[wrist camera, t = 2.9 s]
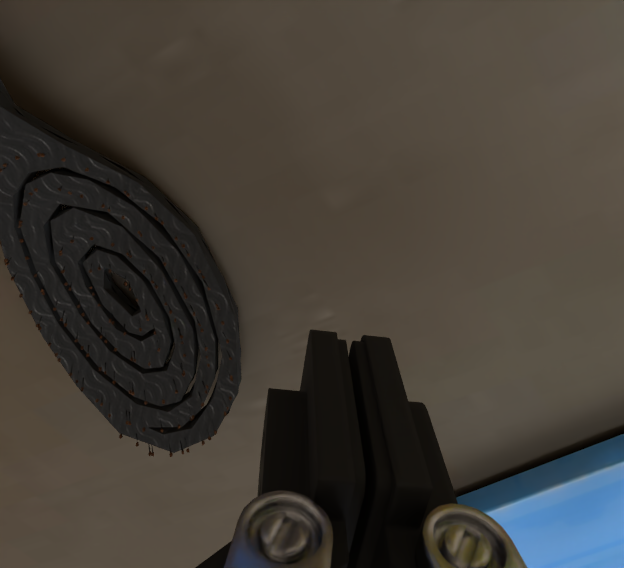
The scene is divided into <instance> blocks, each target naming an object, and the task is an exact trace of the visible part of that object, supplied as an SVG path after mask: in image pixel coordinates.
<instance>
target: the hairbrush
mask: <svg viewBox="0 0 624 568" xmlns="http://www.w3.org/2000/svg"><path fill="white" fill-rule="evenodd" d="M59 167H65V168H67V169H70V170H65V169H58V168H59ZM53 168H54V169H53ZM47 169H52V170H50V171H47V172H45V173H43V174H40V175H39V176H38V177H36V178H35V179H33V177H34V176H35V175H36V173H37V172H38V171H41V170H47ZM32 179H33V180H32ZM31 180H32V181H31ZM24 190H25V192H24ZM61 204H64V205H70V206H71V207H68V208H66V209H64V210H62V211H61V212H60V213H59V214H58V211H59V207H60V205H61ZM0 244H1V245H2V249H3V253H4V257H5V259H4V262H6V263H5V265H7V268H8V270H9V272H10V274H11V276H12V277H11V280H14V282H15V284H16V285H17V287H18V289H19V291H20V293H21V294H20V297H23V299H24V301H25V303H26V305H27V307H28V309H29V313H30V314H31V315H32V317H33V319H34V321H35V322H36V324H37V325H36V326H37V327H38V330H40V332H41V334H42V336H43V338H44V339H45V341H46V342H47V344H48V346H50V348H51V349H52V351H53V352H54V354H55V356H56V357H57V358H58V359H57V360H58V361H59V362H61V364H62V365H63V367H64V368H65V370H66V371H67V373H68V374H69V376H70V377H71V378H72V380H73V381H74V383H75V384H76V386H77V387H78V388H79V389H80V390H81V391H82V392H83V393H84V394H85V396H86V397H87V398H88V399H89V400H90V401H91V402H92V403H93V404H94V405H95V407H96V408H97V409H98V410H99V411H100V412H101V413H102V414H103V415H104V417H105V418H106V419H107V420H108V421H109V422H110V423H111V424H112V425H113V426H114V428H115V429H116V430H117V431H118V432H119V433H120V436H119V438H120V439H121V438H122V437H123V436H122V434H123V435H126V436H129V437H132V438H134V439H137V440H140V441H143V442H145V443H148V444H151V445H154V446H157V447H159V448H162V449H165V450H168V451H170V457H172V453H171V452H173V453H175V452H177V451H179V450H182V454H184V450H183V449H184V448H186V447H189V446H191V445H193V444H196V443H198V442H200V441H202V446H203V445H204V444H205V442H204V441H203V440H205V439H207V438H208V439H209V440H211V437H212V436H214V435H216V433H217V429H218V428H219V426H220V424H221V422H222V421H223V419H224V417H225V416H226V415H227V414H228V413H229V411H230V408H231V405H232V403H233V401H234V399H235V397H236V396H237V394H238V389H239V384H240V382H241V362H240V358H241V346H240V339H239V322H238V307H237V305H236V303H235V301H234V299H233V297H232V295H231V293H230V291H229V289H228V287H227V285H226V283H225V280H224V277H223V275H222V274H221V272H220V270H219V269H218V267H217V265H216V263H215V261H214V259H213V257H212V255H211V253H210V251H209V249H208V247H207V245H206V243H205V241H204V239H203V237H202V235H201V232H200V230H199V228H198V226H197V225H195V224H194V223H193V222H192V221H191V220H190V219H189V218H188V217H187V216H186V215H185V214H184V213H183V212H182V211H180V210H179V209H178V208H177V207H176V206H175V205H174V204H173V203H172V202H171V201H170V200H169V199H168V198H167V197H165V196H164V195H163V194H162V193H161V192H160V191H159V190H158V189H157V188H156V187H155V186H154V185H153V184H152V183H150V182H149V181H148V180H147V179H146V178H145V177H143V176H142V175H140V174H138V173H136V172H134V171H132V170H130V169H128V168H126V167H124V166H123V165H121V164H119V163H117V162H115V161H113V160H111V159H109V158H107V157H105V156H103V155H102V154H100V153H98V152H96V151H94V150H92V149H90V148H88V147H86V146H84V145H82V144H81V143H79V142H77V141H75V140H73V139H72V138H70V137H68V136H67V135H65V134H63V133H62V132H60V131H58V130H57V129H55V128H53V127H52V126H50V125H48V124H47V123H45V122H43V121H41V120H40V119H38V118H36V117H35V116H33V115H31V114H30V113H28V112H26V111H25V110H23V109H21V108H20V107H18V106H16V105H15V104H14V102H13V100H12V98H11V97H10V95H9V93H8V91H7V90H6V88H5V86H4V84H3V83H2V81H1V79H0ZM94 245H98V247H96V248H94V250H93V251H92V252H91V254H90V255H89V256H88V257H86V256H87V253H88V252H89V251H90V250H91V248H92V247H93V246H94ZM111 271H112V272H114V273H116V274H117V275H119V276H121V277H123V278H124V279H125V281H126V280H128V281H129V291H131V288H132V290H133V293H134V295H135V297H136V300H135V301H137V302H138V305H139V306H137V307H135V306H134V305H133V304H132V303H131V302H130V300H129V299H128V298H127V297H126V296H125V295H124V294H123V293H122V292H121V290H120V289H119V288H118V287H117V286H116V285H115V284H114V283H113V280H112V276H111ZM124 285H125V286H127V282H125V283H124ZM130 285H131V288H130ZM218 340H219V343H220V347H221V351H222V359H221V364H220V369H219V374H218V379H217V382H216V385H215V388H214V391H213V393H212V395H211V397H210V399H209V401H208V403H207V405H206V406H204V401H205V399H206V397H207V395H208V392H209V390H210V388H211V386H212V383H213V381H214V379H215V374H216V372H217V369H218ZM173 342H175V349H174V352H173V355H172V358H171V359H170V360H169V361H168V363H167V364H165V362H166V360H167V359H168V357H169V354H170V351H171V349H172V346H173ZM199 348H200V354H201V359H200V363H199V368H198V372H197V376H196V381H195V383H194V385H193V387H192V389H191V391H190V392H188V393H186V391H187V389H188V387H189V384H190V382H191V381H192V380H193V378H194V375H195V373H196V367H197V359H198V350H199ZM185 393H186V394H185ZM184 394H185V395H184ZM202 407H203V408H202ZM201 408H202V409H201ZM136 446H139V444H138V442H137V443H136ZM186 451H187V452H189V448H188V449H187V450H186ZM150 455H151V456H153V457H154V452H153V448H152V453H151V451H150V447H149V456H150Z"/></svg>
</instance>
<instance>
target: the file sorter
mask: <svg viewBox="0 0 624 568" xmlns="http://www.w3.org/2000/svg"><path fill="white" fill-rule="evenodd" d="M456 499H457V502H458V504H463V505H467V506H470V507H473V508H476V509H478V510H480V511H482V512H484V513H485V514H487V515H489V516H490V517H492V518H493V519H494V520H495V521H496V522H497V523H499V524H500V525H501V526H502V527H503V528H504V530H505V531H506V532H507V534H508V535H509V537H510V538H511V539H512V541H513V543H514V545H515V546H516V548H517V550H518V552H519V553H520V555H521V557H522V559H523V561H524V562H525V564H526V566H527V568H624V434H622V435H619V436H616V437H614V438H611V439H609V440H606V441H603V442H601V443H598V444H595V445H593V446H590V447H588V448H585V449H582V450H580V451H577V452H575V453H572V454H569V455H567V456H564V457H561V458H559V459H556V460H554V461H551V462H548V463H546V464H543V465H541V466H538V467H535V468H533V469H530V470H527V471H525V472H522V473H520V474H517V475H514V476H512V477H509V478H507V479H504V480H501V481H499V482H496V483H494V484H491V485H488V486H486V487H483V488H480V489H478V490H475V491H472V492H470V493H467V494H464V495H462V496H459V497H456Z"/></svg>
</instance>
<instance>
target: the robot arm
mask: <svg viewBox="0 0 624 568" xmlns="http://www.w3.org/2000/svg"><path fill="white" fill-rule="evenodd" d="M196 568H527V566H526V564H525V562H524V561H523V559H522V557H521V555H520V553H519V552H518V550H517V548H516V546H515V545H514V543H513V541H512V539H511V538H510V537H509V535H508V534H507V532H506V531H505V530H504V528H503V527H502V526H501V525H500V524H499V523H497V522H496V521H495V520H494V519H493V518H492V517H490V516H489V515H487V514H485V513H484V512H482V511H480V510H478V509H476V508H473V507H470V506H467V505H463V504H458V502H457V499H456V496H455V493H454V490H453V487H452V484H451V481H450V478H449V475H448V472H447V469H446V466H445V463H444V460H443V457H442V454H441V451H440V447H439V444H438V441H437V438H436V435H435V432H434V429H433V426H432V423H431V420H430V417H429V414H428V411H427V409H426V406H425V405H424V404H423V403H420V402H409V401H408V399H407V396H406V392H405V389H404V385H403V382H402V378H401V375H400V371H399V368H398V364H397V361H396V357H395V354H394V350H393V347H392V343H391V340H390V338H386V337H377V336H367V335H363V336H362V338H361V342H359V341H353V342H352V344H351V348H350V353H349V357H348V350H347V344H346V340H340V339H337V333H336V332H328V331H319V330H310V333H309V338H308V344H307V350H306V356H305V362H304V369H303V375H302V381H301V387H300V391H292V390H281V389H270V388H269V390H268V397H267V404H266V412H265V420H264V429H263V438H262V449H261V460H260V472H259V485H258V497H256V498H254V499H253V500H252V501H251V502H250V503H249V504H248V505H247V506H246V507H245V508H244V509H243V511H242V513H241V515H240V517H239V519H238V522H237V525H236V529H235V532H234V536H233V539H232V541H231V542H230V543H228V544H227V545H225V546H224V547H223V548H221V549H220V550H219V551H217V552H216V553H215V554H213V555H212V556H211V557H209V558H208V559H206V560H205V561H204V562H202V563H201V564H200V565H198V566H197V567H196Z"/></svg>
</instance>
